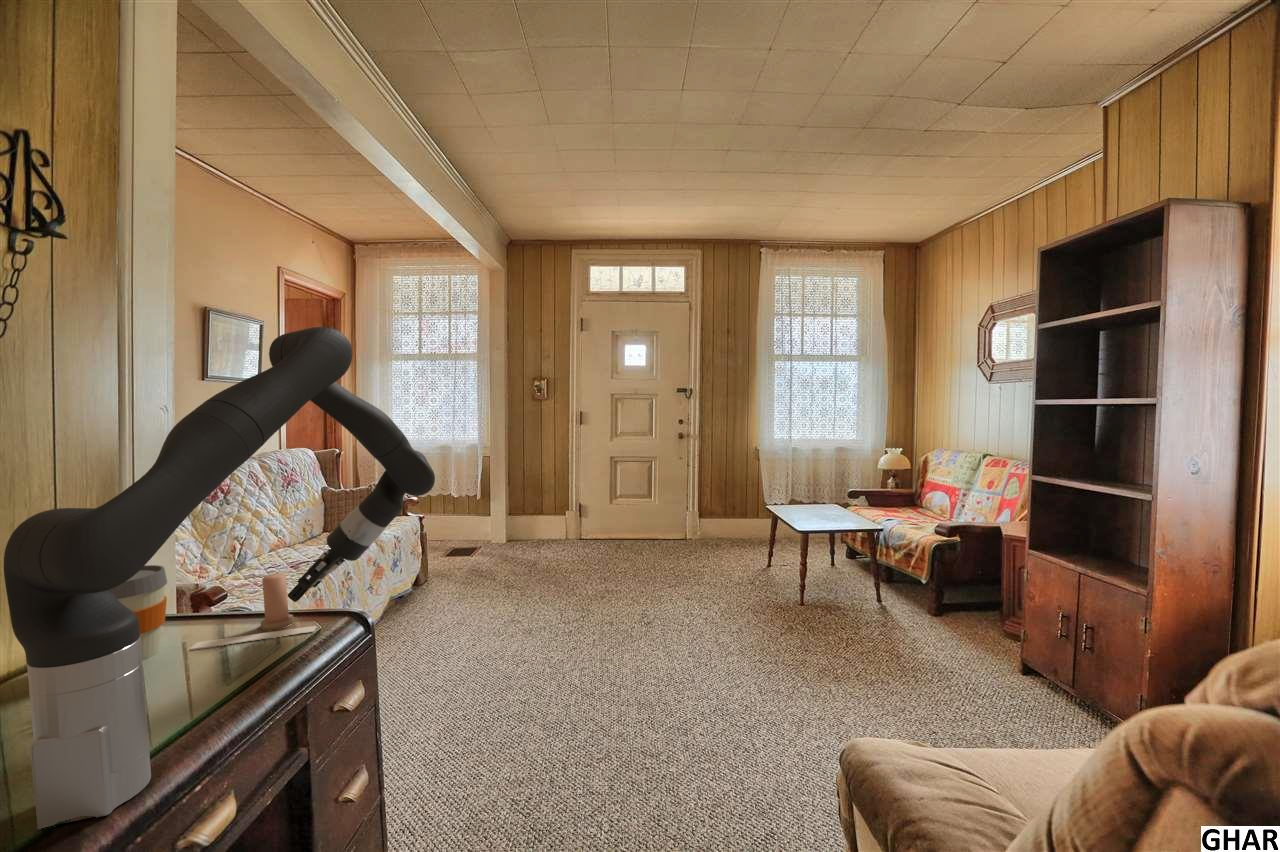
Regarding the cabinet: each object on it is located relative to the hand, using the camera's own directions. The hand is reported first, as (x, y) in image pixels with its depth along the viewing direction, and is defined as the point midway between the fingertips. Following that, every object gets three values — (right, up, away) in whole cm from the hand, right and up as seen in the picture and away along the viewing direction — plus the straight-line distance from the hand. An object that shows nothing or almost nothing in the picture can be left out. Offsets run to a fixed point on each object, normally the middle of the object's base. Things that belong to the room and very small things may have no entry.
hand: (301, 591), depth 115 cm
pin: (-5, -7, 0) cm, 8 cm away
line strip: (-5, -7, -7) cm, 11 cm away
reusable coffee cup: (-24, -8, -13) cm, 28 cm away
